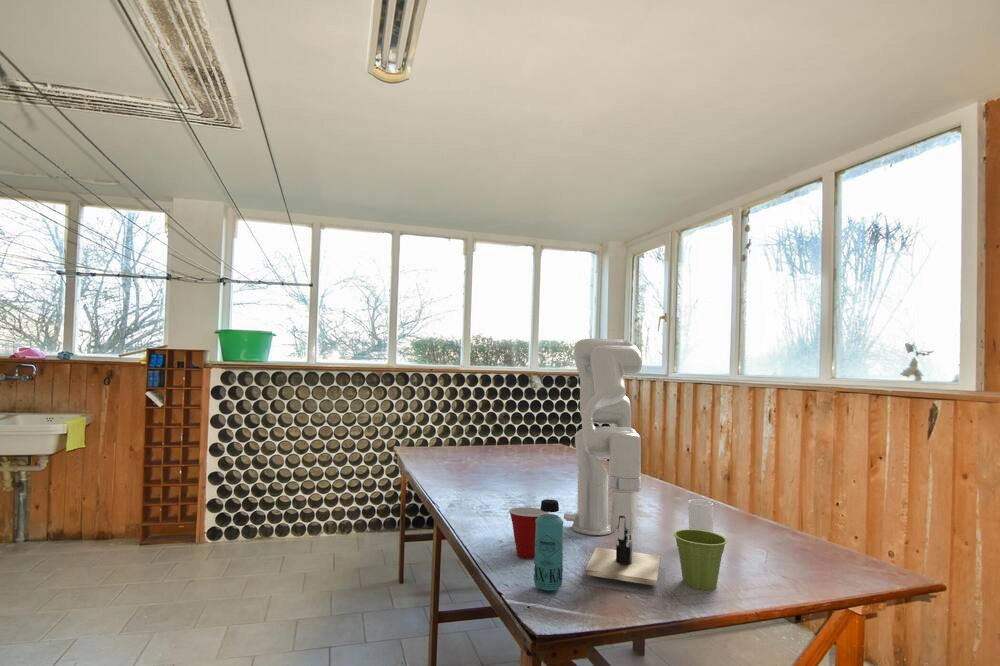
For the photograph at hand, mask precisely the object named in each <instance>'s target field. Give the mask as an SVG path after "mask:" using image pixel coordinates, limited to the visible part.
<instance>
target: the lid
mask: <svg viewBox="0 0 1000 666" xmlns="http://www.w3.org/2000/svg"><path fill="white" fill-rule="evenodd" d="M629 546H630V564H623V563H617V562H616V549H615V548H614V549H612V548H605V547H598V546H596V547H595V549H594V551H593V552H592V555H591V556H590V559H589V561H588V563H587V565H586V567H585V569H584V576H585V575H591V576H597V577H603V578H610V579H616V580H623V581H629V582H635V583H642V584H648V585H654V586H657V580H658V574H659V567H660V566H661V558H662V557H661V555H658V554H656V555H655V554H650V553H641V552H635V551H633V540H632V539H631V540H629ZM660 568H661V567H660Z"/></svg>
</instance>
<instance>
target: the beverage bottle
mask: <svg viewBox="0 0 1000 666" xmlns="http://www.w3.org/2000/svg"><path fill="white" fill-rule="evenodd" d="M559 505H560V504H559V501H558V500H556V499H550V498H548V499H543V500H541V504H540V509H541V511H544V512H549V513H548V514H542V515H540V516H539V517H538V518H537V519H536V536H535V549H534V550H535V555H534V556H535V557H534V559H533V564H534V565H533V567H534V568H533V570H534V571H533V573H534V574H533V582H534V586H535V588H537V589H540V590H542V591H556V590H560V589H561V587H562V585H563V579H564V575H563V571H564V563H563V561H564V559H563V558H564V550H563V549H564V546H563V544H564V541H563V539H564V536H563V535H564V519H562V518H561V516H559V515H558V514H555V513H557V512H559V511H560V507H559Z"/></svg>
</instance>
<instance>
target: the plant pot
mask: <svg viewBox="0 0 1000 666" xmlns="http://www.w3.org/2000/svg"><path fill="white" fill-rule="evenodd" d="M672 535H673V536H674V537H675V540H676V546H677V548H678V555H679V562H680V569H681V576H682V582H683V584H684V585H685V586H687V587H689V588H691V589H695V590H701V591H712V590H715V589H716V588H717V586H718V580H719V574H720V568H721V564H722V558H723V557H722V556H723V553H724V551H725V545H726V544H727V543H728V539H727V538H726V537H725V536H723V535H721V534H718V533H717V532H714V531H713V532H708V531H703V530H694V529H689V528H688V529H687V528H686V529H685V528H684V529H677V530H675V531H674V532H673V534H672Z"/></svg>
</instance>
